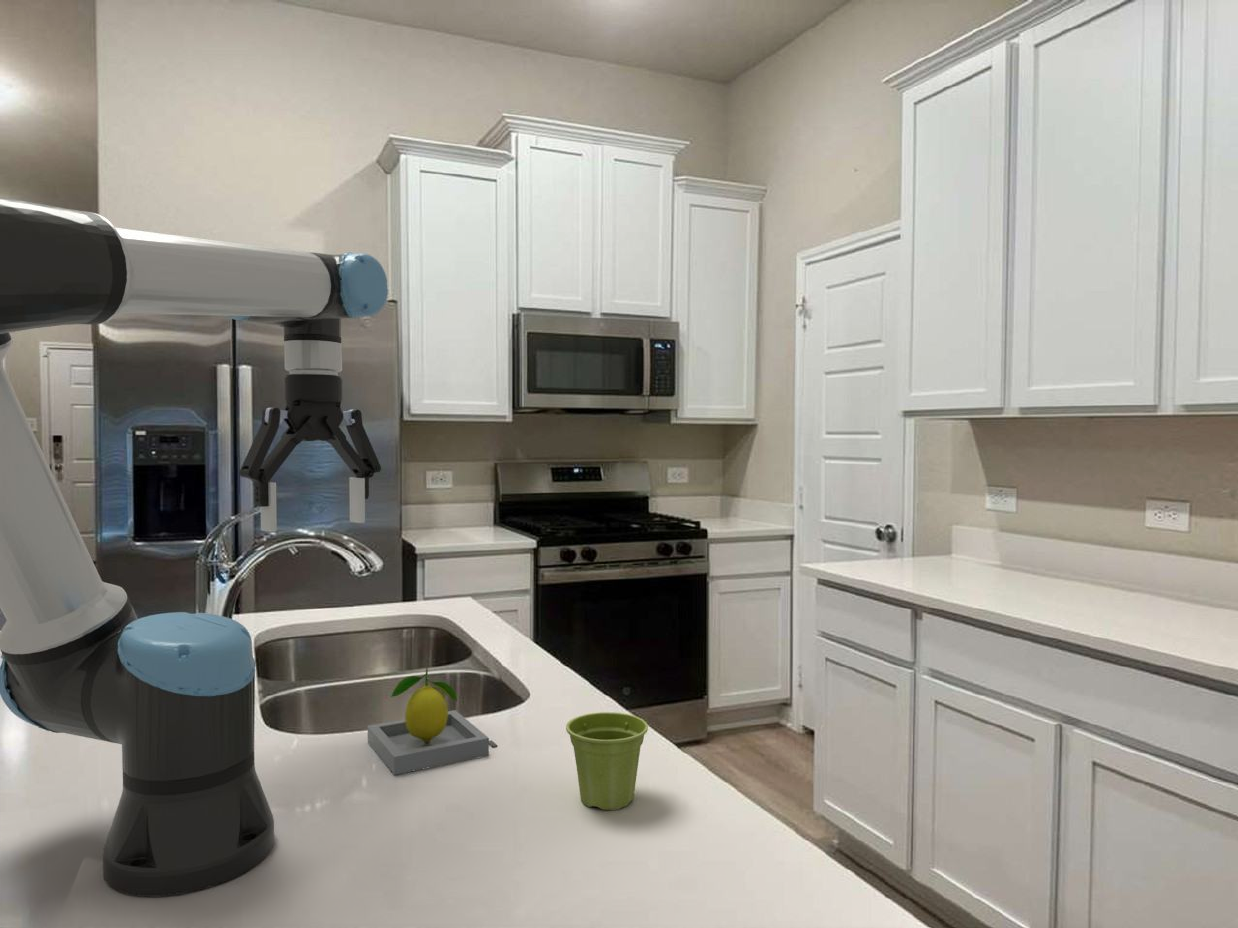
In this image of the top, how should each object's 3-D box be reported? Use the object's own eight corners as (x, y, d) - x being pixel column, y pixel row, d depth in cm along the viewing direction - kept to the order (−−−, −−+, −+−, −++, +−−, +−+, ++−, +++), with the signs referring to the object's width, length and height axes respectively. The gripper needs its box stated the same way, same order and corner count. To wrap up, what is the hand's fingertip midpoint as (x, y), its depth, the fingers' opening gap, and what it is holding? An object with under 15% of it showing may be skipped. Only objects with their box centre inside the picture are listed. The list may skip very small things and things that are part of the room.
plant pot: (554, 789, 99) (555, 717, 98) (627, 776, 103) (628, 707, 102) (583, 824, 90) (583, 745, 90) (661, 808, 94) (661, 733, 94)
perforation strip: (497, 746, 112) (497, 744, 112) (492, 747, 112) (492, 745, 112) (472, 725, 120) (472, 724, 120) (468, 726, 119) (468, 725, 119)
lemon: (391, 747, 109) (390, 672, 109) (415, 732, 115) (415, 660, 114) (436, 754, 107) (436, 677, 107) (458, 738, 113) (458, 664, 112)
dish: (488, 755, 109) (488, 737, 109) (394, 775, 102) (394, 756, 102) (455, 725, 120) (455, 710, 119) (367, 742, 113) (367, 725, 113)
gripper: (374, 379, 128) (375, 517, 129) (210, 370, 109) (212, 532, 109) (404, 377, 123) (405, 520, 124) (238, 367, 104) (241, 537, 105)
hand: (315, 526), depth 117 cm, fingers open, 13 cm apart
